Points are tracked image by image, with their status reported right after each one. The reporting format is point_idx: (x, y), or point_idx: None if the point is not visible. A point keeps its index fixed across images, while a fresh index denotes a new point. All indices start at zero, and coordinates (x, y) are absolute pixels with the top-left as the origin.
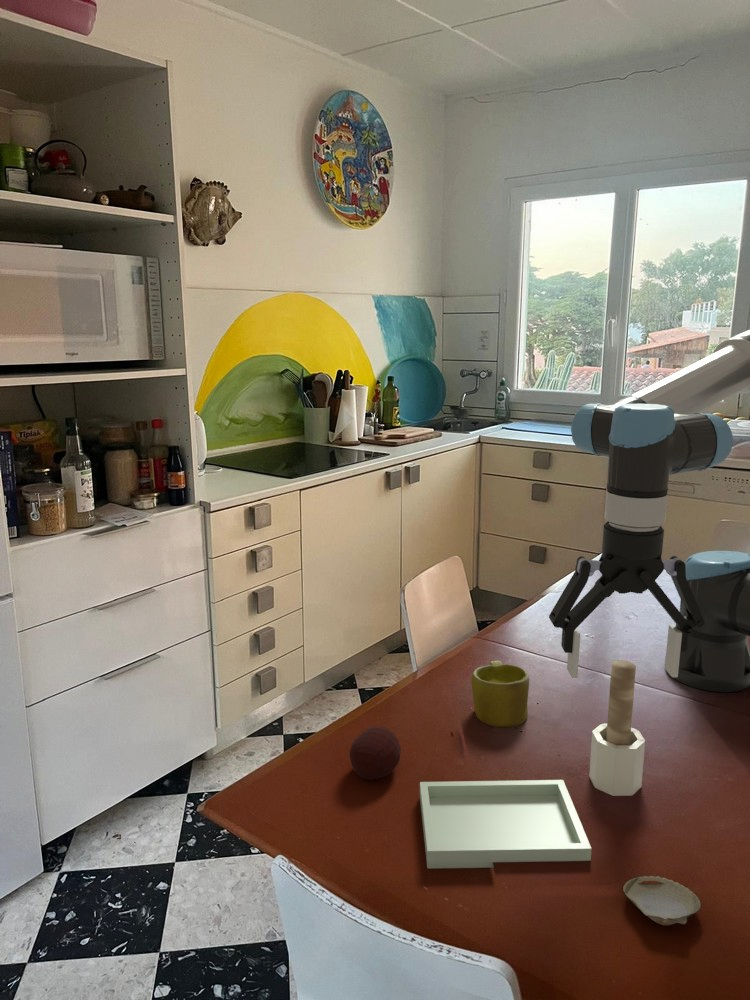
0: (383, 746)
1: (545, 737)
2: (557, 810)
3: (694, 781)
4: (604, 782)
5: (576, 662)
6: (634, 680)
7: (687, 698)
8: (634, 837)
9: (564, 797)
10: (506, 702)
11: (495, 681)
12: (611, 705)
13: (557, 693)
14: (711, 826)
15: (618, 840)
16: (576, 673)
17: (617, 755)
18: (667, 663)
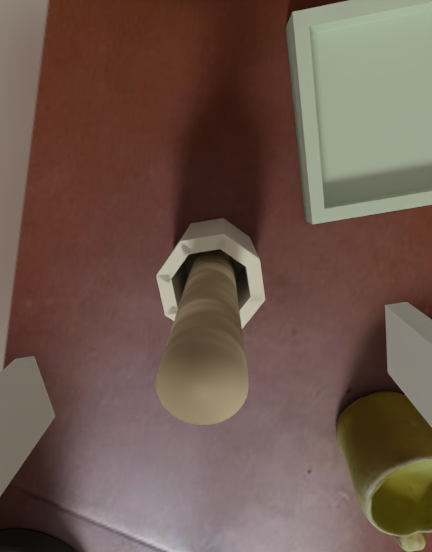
0: None
1: (309, 379)
2: (324, 160)
3: (84, 289)
4: (237, 231)
5: (428, 333)
6: (167, 343)
7: (66, 508)
8: (200, 121)
9: (318, 168)
10: (402, 425)
11: (413, 491)
12: (235, 304)
13: (272, 501)
14: (73, 171)
15: (228, 108)
16: (398, 312)
17: (219, 231)
18: (34, 418)
